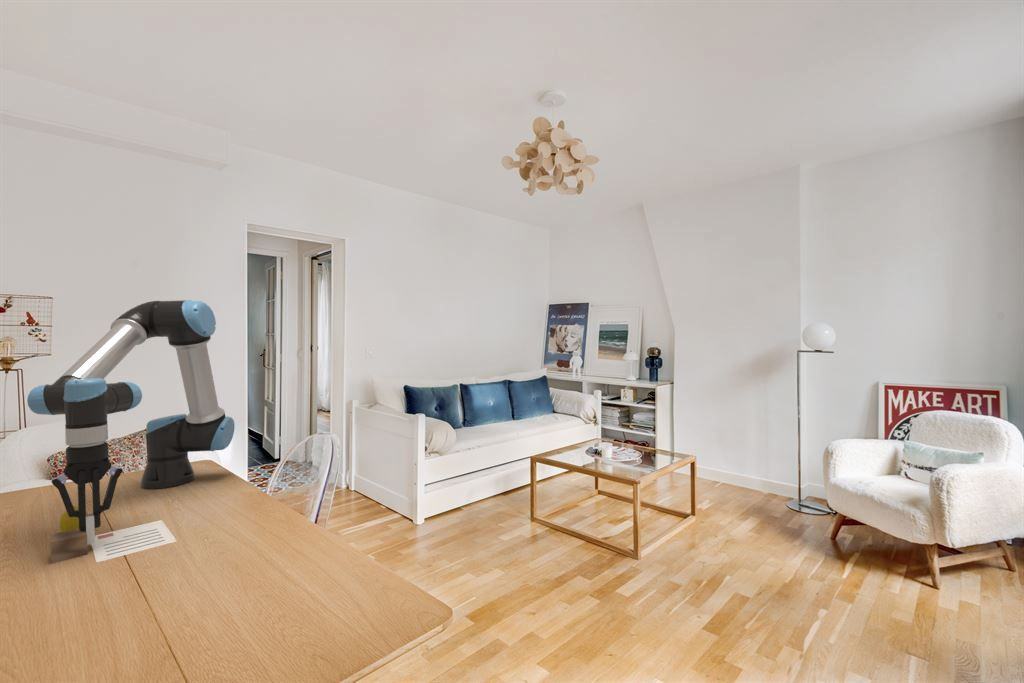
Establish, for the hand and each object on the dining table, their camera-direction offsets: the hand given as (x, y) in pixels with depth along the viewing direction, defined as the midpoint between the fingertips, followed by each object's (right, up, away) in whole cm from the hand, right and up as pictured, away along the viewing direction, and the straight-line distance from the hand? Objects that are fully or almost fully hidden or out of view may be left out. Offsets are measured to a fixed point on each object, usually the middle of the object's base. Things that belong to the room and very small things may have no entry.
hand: (90, 542), depth 114 cm
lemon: (-11, -2, +8) cm, 13 cm away
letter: (+5, -2, +6) cm, 8 cm away
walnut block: (-3, -2, -3) cm, 4 cm away
